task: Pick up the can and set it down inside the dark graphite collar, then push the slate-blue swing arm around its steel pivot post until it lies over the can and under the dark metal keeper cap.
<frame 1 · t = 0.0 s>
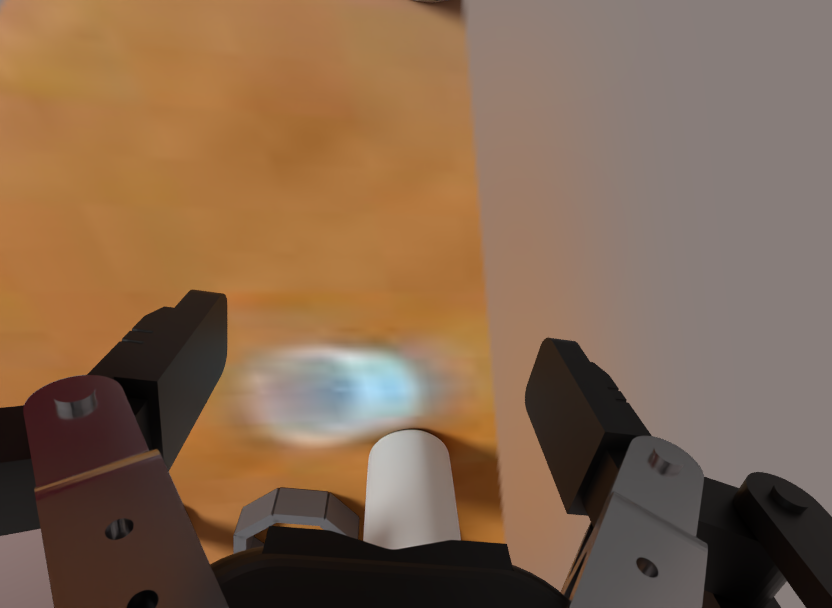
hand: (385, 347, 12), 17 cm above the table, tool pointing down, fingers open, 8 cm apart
can: (408, 454, 38), on the table
collar: (300, 528, 42), on the table
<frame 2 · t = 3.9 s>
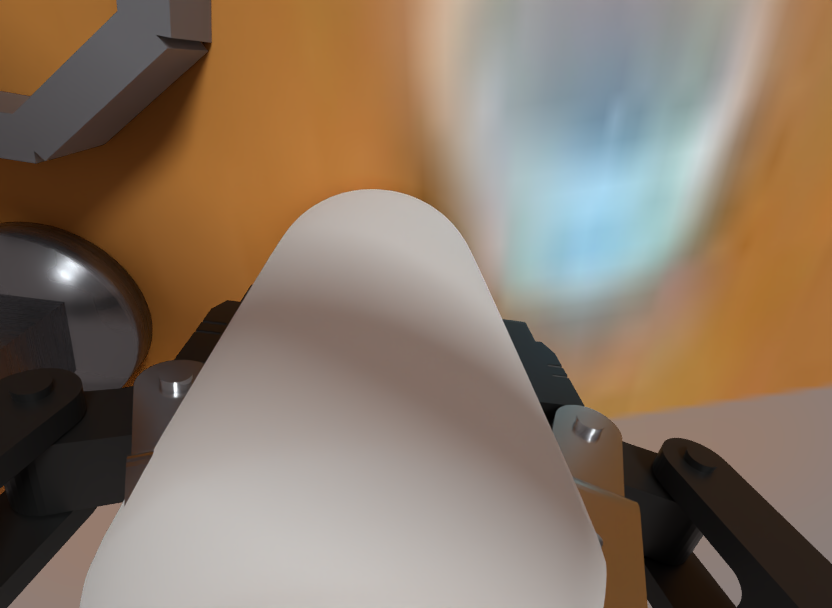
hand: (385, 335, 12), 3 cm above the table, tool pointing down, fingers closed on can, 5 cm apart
can: (375, 282, 15), on the table, touching gripper
keeper: (52, 313, 15), on the table
when the fingers open (4 cm above the table, at t = 10.4 s): can drops 1 cm, resting in collar.
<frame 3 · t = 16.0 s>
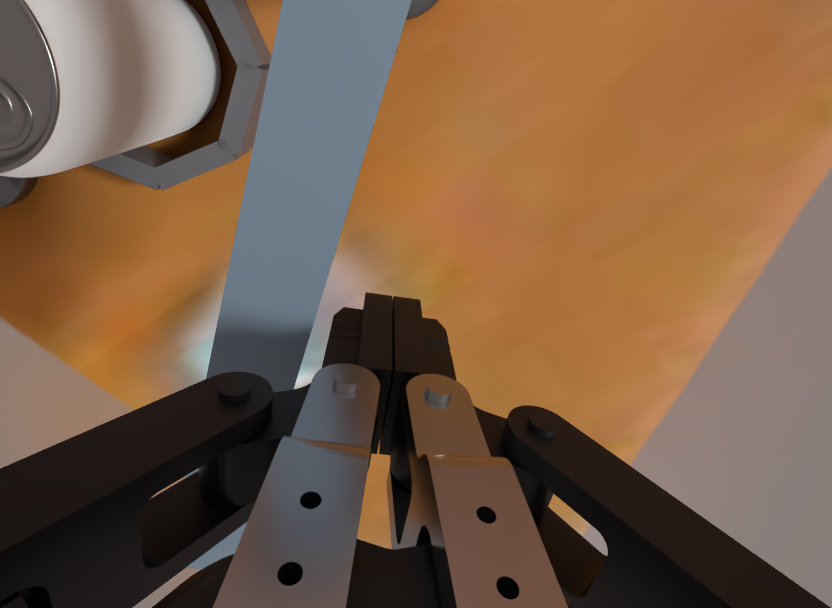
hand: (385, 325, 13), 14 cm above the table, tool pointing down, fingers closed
can: (154, 60, 22), resting in collar
collar: (157, 62, 22), on the table
swing arm: (289, 247, 11), point 15 cm above the table, hinge at 49.5°, touching gripper
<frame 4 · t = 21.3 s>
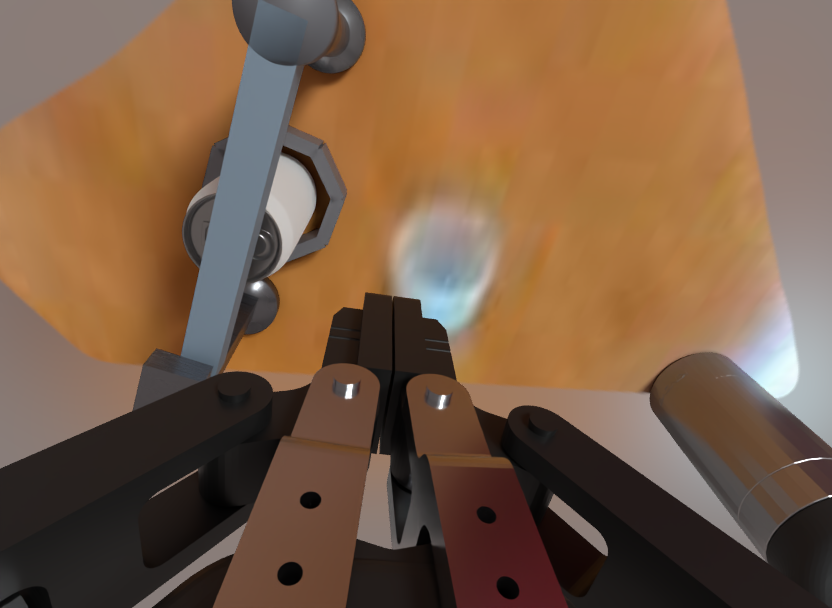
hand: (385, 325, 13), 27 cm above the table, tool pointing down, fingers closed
pivot post: (329, 33, 33), on the table
can: (277, 190, 38), resting in collar
collar: (279, 190, 38), on the table
keeper: (245, 298, 42), on the table
swing arm: (242, 200, 23), point 15 cm above the table, hinge at 2.1°
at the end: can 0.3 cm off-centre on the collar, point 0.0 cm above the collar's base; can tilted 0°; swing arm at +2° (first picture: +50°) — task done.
